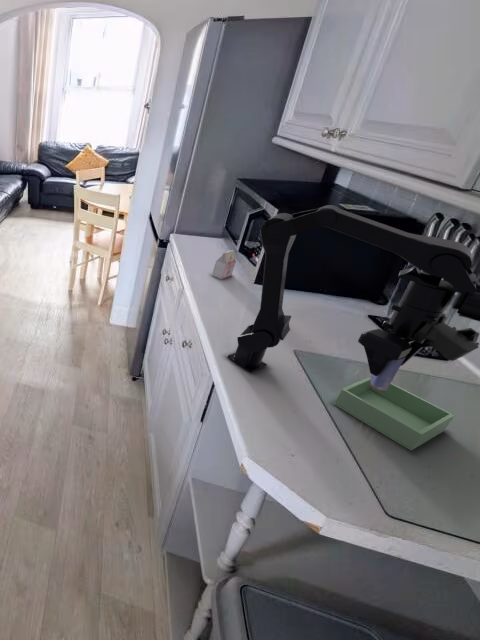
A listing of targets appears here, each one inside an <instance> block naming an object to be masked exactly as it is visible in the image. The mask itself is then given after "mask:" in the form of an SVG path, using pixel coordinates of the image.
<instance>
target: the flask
mask: <svg viewBox="0 0 480 640" xmlns="http://www.w3.org/2000/svg"><path fill="white" fill-rule="evenodd" d="M409 344H410V343H409ZM410 345H411V344H410ZM404 360H405V358H403V359H400V360H392V361H391V362H390V363H389V364H388V366H387V367H386V368H385V369H384V370H383V371H382V372H381V373H380V374H379V375H378V376H375V375H373V374H371V375H370V377H371V378H370V386H371V387H372V389H374V390H376V389H377V390H378V391H380V392H381V393H383V392H386V390H387V389H388V387H389V385H390V383H392V381H393V379H394V378H395V376H396V375H397V373H398V371H399V369H400V367H402V366H401V364H402V363H403V361H404ZM375 388H376V389H375ZM377 390H376V391H377Z"/></svg>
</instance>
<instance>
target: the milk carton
mask: <svg viewBox="0 0 480 640" xmlns="http://www.w3.org/2000/svg"><path fill="white" fill-rule="evenodd" d="M236 263H237V259H236V249H231V250H228V251H225V252H223V253H222V255H221V256H220V257H218V259H217V260H215V263H214V267H213V269H212V272H211V276H213V277H215V278H217V279H219V280H224V279H227V278H229V277H232V275H233V272H234V269H235V266H236Z"/></svg>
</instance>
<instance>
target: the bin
mask: <svg viewBox="0 0 480 640" xmlns="http://www.w3.org/2000/svg"><path fill="white" fill-rule="evenodd" d="M370 378H371V376H368V377H366V378H364V379H362V380H359V381H358V382H355V383H353V384H350V385H348V386H345V387H344V388H341V390H340V392H339V394H338V396H337V398H336V400H335V401H334V403H333V406H336V407H338V408H339V409H341V410H342V411H344V412H346V413H347V414H349V415H351V416H352V417H354V418H356V419H357V420H359V421H361V422H362V423H364V424H365V425H367V426H368V427H371V428H372V429H374V430H375V431H377V432H379V433H380V434H382V435H384V436H386V437H387V438H388V439H391V440H392V441H394V442H395V443H397V444H399V445H400V446H402V447H404V448H406V449H407V450H409V451H413V450H414V449H416V448H418V447H420V446H422V445H424V444H425V443H426V442H428V441H430V440H431V439H433V438H435V437H437V436H438V435H440V434H442V433H443V432H445V431H446V429H447V428H448V426H449V425H450V423H451V422H452V421H453V419H454V417H455V416H456V415H455V414H453V413H451V412H449V411H447V410H446V409H443V408H442V407H440V406H437V405H435V404H433V403H431V402H429V401H428V400H426V399H424V398H422V397H420V396H418V395H416V394H414V393H412V392H410V391H409V390H406V389H404V388H402V387H401V386H398V385H396V384H395V383H392V382H391V383H390V385H389V387H388V389H387V390H386V392H383V393H381V392H380V391H378V390H377V389H376V388H375V389H376V390H377V391H376V390H374V389H372V387H371V386H370Z"/></svg>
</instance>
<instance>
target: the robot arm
mask: <svg viewBox="0 0 480 640" xmlns="http://www.w3.org/2000/svg"><path fill="white" fill-rule="evenodd" d="M322 228H328V229H330V230H333V231H335V232H338V233H341V234H344V235H346V236H349V237H351V238H354V239H357V240H359V241H361V242H364V243H367V244H370V245H373V246H374V247H378V248H380V249H382V250H386V251H389V252H391V253H393V254H395V255H397V256H399V257H400V258H402V259H403V260H404V261H406V262H407V263H409V264H410V265H412V267H410V268H406V269H402V270H400V271H399V273H398V274H397V275H398V276H397V277H398V278H399V279H401V280H404V281H408V282H409V283H408V284H407V287H406V288H405V291H404V292H403V294H402V296H401V298H400V299H399V301H398V303H394V304H392V306H391V309H390V310H392V311H393V313H392V315H391V317H390V319H389V320H386V321H384V322H383V323H382V327H383V328H385V329H386V330H389V332H388V331H385V330H383V329H381V328H375V329H370V330H368V331H365V332H362V333H361V334H360V336H359V337H358V340H357V342H358V343H359V344H360V345H361V346H362V347H363V349H364V352H365V356H366V359H367V364H368V369H369V373H370V374H371V375H372V374H373V375H375V376H378V375H379V374H380V373H381V372H382V371H383V370H384V369H385V368H386V367H387V366H388V364H389V363H390V362H391V361H392V360H400V359H403V358H405V360H404V361H403V363H402V364H401V366H400V367H402V366H404V365H405V364H407V362H408V361H409V360H411V359H412V358H413V357H414V356H415V355H416V354H418V353H419V352H420V351H421V350H422V349H423V348H429V347H432V348H433V349H435V350H436V351H437V352H439V353H440V354H441V356H442V357H444V358H445V359H447V360H449V361H452V362H455V361H456V360H458V359H461V358H463V357H464V356H467V355H468V354H470V353H472V352H473V351H476V349H478V348H479V345H480V343H479V342H478V339H479V336H480V333H479V332H478V331H476V330H475V329H473V328H471V327H468V328H467V327H466V328H460V329H457V327H456V326H453V327H451V326H450V325H448V324H447V323H445V322H446V320H447V319H448V317H447V314H446V313H444V311H445V310H446V308H447V306H448V304H449V303H450V301H451V299H452V298H453V295H454V294H455V293H458V294H457V295H456V296H455V299H454V301H453V303H452V306H451V309H454V310H457V311H456V314H457V315H458V316H459V317H461V318H464V319H467V320H468V319H469V320H473V321H476V322H480V282H479V281H477V274H476V273H474V272H473V270H472V266H473V255H472V252H471V250H470V248H469V247H468V246H467V245H466V244H464V243H462V242H460V241H455V240H450V239H446V238H442V237H436V236H431V235H422V234H416V233H411V232H407V231H404V230H401V229H398V228H396V227H393V226H390V225H387V224H384V223H381V222H379V221H376V220H372V219H371V218H367V217H364V216H361V215H360V214H355V213H353V212H350V211H347V210H344V209H341V208H340V207H339V206H336V205H333V204H327V205H326V204H325V205H324V206H321V207H318V208H314V209H309V210H304V211H300V212H295V213H292V214H290V213H286V212H281V213H276V214H275V215H273V216H272V217H270V218H268V219H267V220H266V221H264V222H263V223H262V224H261V226H260V228H259V230H260V240H261V246H262V248H263V251H264V254H265V257H264V258H265V259H264V267H263V277H262V286H261V287H262V288H261V296H260V297H261V298H260V306H259V311H258V313H257V315H256V318H255V319H254V322H253V323H252V324H248V325H247V327H246V328H245V329H244V330H243V331H242V332H241V333H240V334H239V335H238V336H237V338H236V339H237V346H236V350H235V352H234V353H230V354H228V355H227V356H226V357H227V359H228V360H230V361H232V362H233V363H234V364H236V365H238V366H239V367H241V368H242V369H244V370H246V371H247V372H249V373H253V372H256V371H259V370H261V369H264V368H266V367H267V366H268V364H267V363H265V362H264V361H263V359H264V356H265V354H266V351H267V349H269V348H274V347H276V346H278V345H279V343H281V341H284V339H285V338H286V337H287V336H288V335H289V332H290V331H291V328H290V322H291V319H292V315H289V314H288V315H286V314H285V312H284V309H283V304H284V295H285V287H286V286H285V285H286V279H287V268H288V261H289V253H290V251H291V248H292V246H293V244H294V242H295V240H296V237H297V235H301V234H304V233H307V232H311V231H313V230H317V229H322ZM409 343H410V344H411V345H410V344H409Z"/></svg>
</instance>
